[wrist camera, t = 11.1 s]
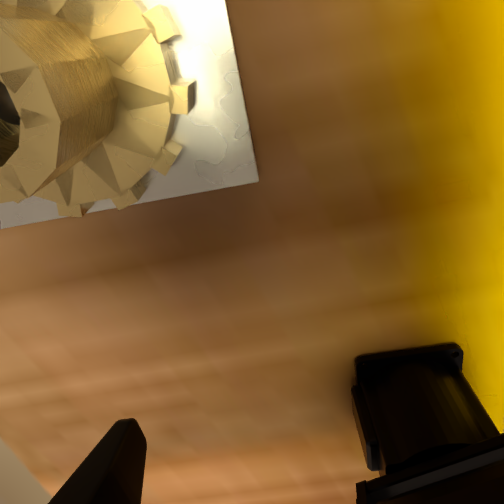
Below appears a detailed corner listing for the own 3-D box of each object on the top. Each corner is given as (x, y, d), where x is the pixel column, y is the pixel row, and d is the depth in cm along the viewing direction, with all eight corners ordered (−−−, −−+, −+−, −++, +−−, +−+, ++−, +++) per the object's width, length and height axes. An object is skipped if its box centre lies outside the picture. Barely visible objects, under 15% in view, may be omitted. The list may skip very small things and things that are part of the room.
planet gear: (145, -111, 13) (59, -228, 7) (217, 181, 18) (200, 251, 12) (-129, -39, 14) (-399, -91, 8) (10, 219, 19) (-96, 300, 13)
